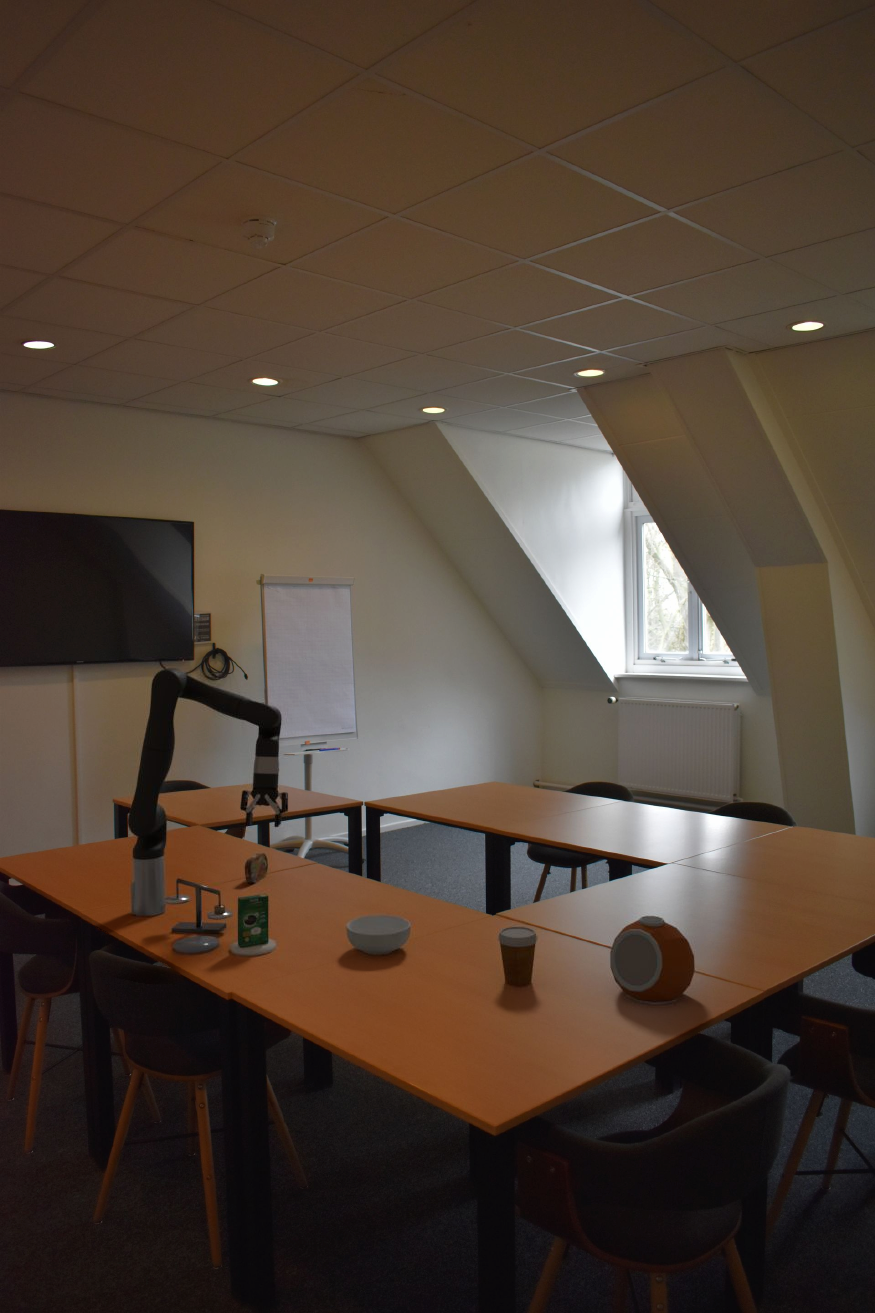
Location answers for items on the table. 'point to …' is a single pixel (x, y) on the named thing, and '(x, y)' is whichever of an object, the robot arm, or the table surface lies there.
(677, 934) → the alarm clock
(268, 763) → the robot arm
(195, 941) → the grey dish
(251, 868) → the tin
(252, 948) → the white dish
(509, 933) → the disposable coffee cup
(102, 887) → the table surface
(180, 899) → the balance
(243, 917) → the coffee box
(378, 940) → the cereal bowl
